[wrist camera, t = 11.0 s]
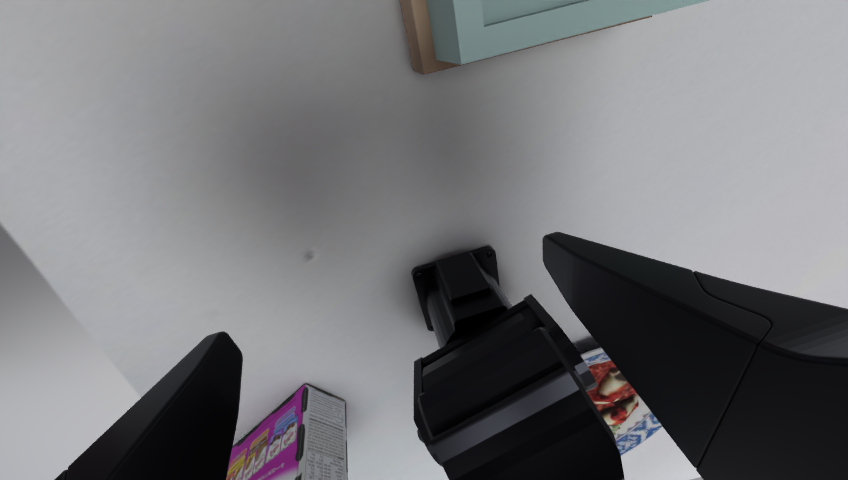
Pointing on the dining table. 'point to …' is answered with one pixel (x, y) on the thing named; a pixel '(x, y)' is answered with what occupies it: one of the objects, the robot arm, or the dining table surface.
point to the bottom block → (423, 41)
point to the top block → (526, 23)
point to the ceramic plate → (619, 403)
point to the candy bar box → (296, 441)
